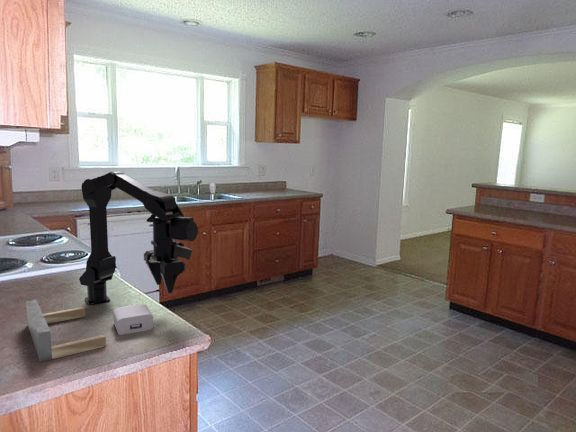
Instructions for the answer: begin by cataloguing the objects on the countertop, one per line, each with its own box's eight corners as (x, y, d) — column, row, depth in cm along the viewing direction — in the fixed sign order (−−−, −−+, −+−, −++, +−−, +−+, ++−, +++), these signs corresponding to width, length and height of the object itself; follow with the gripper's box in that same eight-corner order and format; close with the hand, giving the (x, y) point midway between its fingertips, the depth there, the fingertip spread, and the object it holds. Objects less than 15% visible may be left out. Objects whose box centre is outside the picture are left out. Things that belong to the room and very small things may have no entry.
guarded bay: (27, 325, 118) (26, 301, 117) (84, 314, 127) (83, 292, 126) (39, 361, 99) (37, 333, 97) (106, 346, 107) (104, 319, 106)
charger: (143, 311, 131) (153, 329, 118) (110, 316, 126) (118, 336, 114) (142, 296, 130) (153, 313, 117) (110, 301, 126) (117, 319, 113)
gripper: (202, 240, 123) (202, 292, 125) (177, 230, 138) (177, 276, 140) (164, 244, 116) (165, 299, 118) (142, 233, 131) (143, 282, 133)
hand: (164, 288), depth 128 cm, fingers open, 9 cm apart
